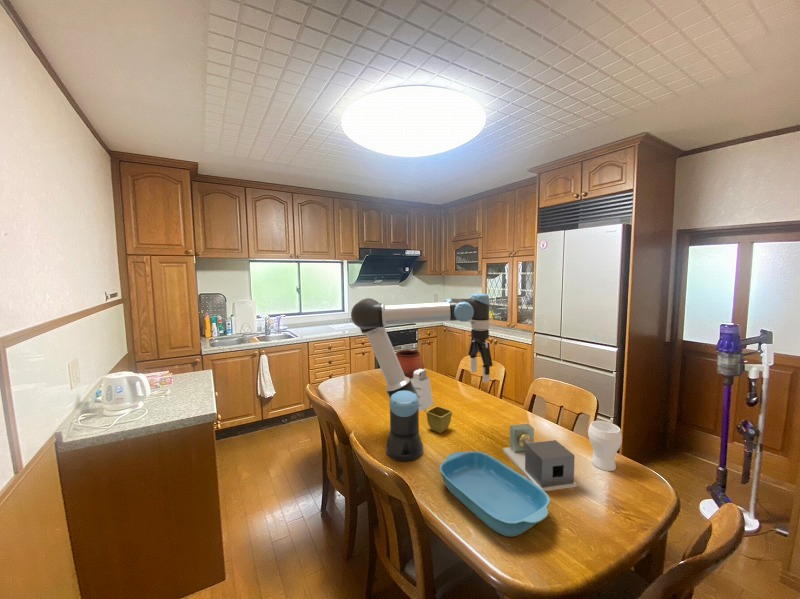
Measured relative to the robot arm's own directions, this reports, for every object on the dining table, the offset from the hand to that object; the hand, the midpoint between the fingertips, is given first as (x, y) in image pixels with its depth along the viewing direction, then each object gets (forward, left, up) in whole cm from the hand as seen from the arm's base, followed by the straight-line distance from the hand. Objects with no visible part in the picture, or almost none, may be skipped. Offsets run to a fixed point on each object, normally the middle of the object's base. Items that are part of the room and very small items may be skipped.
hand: (479, 376), depth 144 cm
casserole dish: (-36, -22, -27) cm, 51 cm away
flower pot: (-8, +16, -27) cm, 32 cm away
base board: (-9, -28, -27) cm, 40 cm away
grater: (+8, +39, -27) cm, 48 cm away
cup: (+8, -47, -27) cm, 55 cm away
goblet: (+20, +57, -27) cm, 67 cm away
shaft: (-6, -25, -25) cm, 36 cm away
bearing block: (-13, -33, -26) cm, 44 cm away
